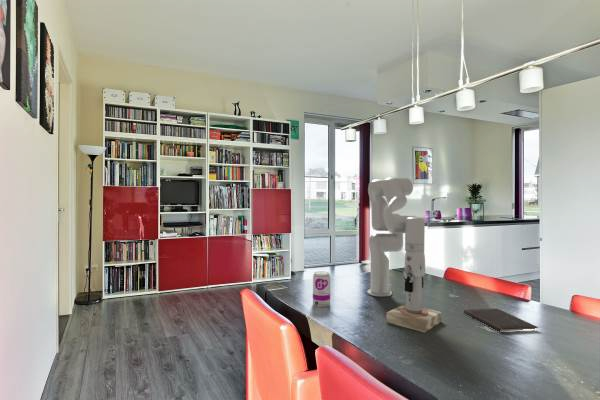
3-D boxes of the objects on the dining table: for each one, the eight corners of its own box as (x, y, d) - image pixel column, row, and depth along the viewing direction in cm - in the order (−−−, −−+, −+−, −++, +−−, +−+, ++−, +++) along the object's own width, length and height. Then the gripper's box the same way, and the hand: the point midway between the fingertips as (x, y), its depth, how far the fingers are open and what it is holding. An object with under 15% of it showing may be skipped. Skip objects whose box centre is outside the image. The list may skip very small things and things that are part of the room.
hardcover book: (496, 313, 159) (496, 308, 159) (538, 333, 136) (538, 326, 136) (463, 314, 157) (463, 309, 157) (499, 334, 134) (499, 328, 134)
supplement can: (329, 308, 164) (329, 275, 164) (311, 306, 165) (311, 274, 165) (331, 302, 172) (331, 271, 171) (314, 301, 173) (314, 270, 173)
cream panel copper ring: (404, 312, 157) (404, 303, 157) (441, 321, 146) (441, 311, 146) (386, 322, 145) (386, 311, 145) (424, 332, 135) (424, 321, 135)
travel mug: (417, 308, 150) (417, 260, 150) (424, 313, 143) (424, 263, 143) (403, 309, 149) (402, 261, 149) (409, 314, 143) (409, 263, 142)
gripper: (414, 250, 137) (413, 295, 137) (432, 246, 150) (431, 287, 150) (396, 248, 142) (395, 291, 142) (415, 244, 155) (414, 284, 155)
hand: (414, 289), depth 146 cm, fingers open, 9 cm apart
